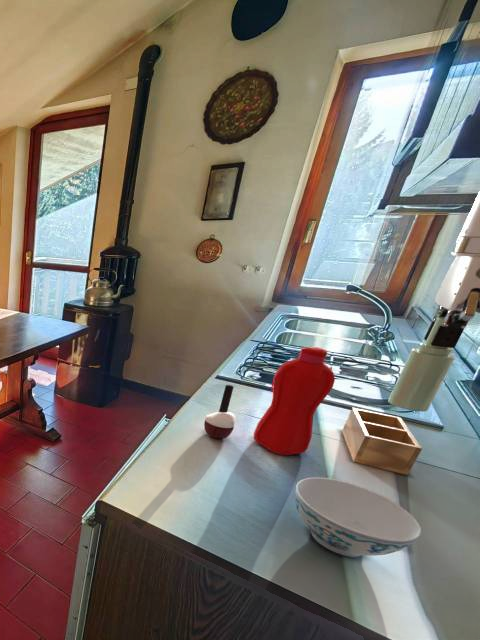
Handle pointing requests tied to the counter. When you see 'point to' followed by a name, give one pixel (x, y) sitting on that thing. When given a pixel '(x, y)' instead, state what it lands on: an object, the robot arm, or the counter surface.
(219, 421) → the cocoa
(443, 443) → the counter surface
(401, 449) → the box
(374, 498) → the chinaware
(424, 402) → the bottle
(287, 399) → the red plastic tall container
